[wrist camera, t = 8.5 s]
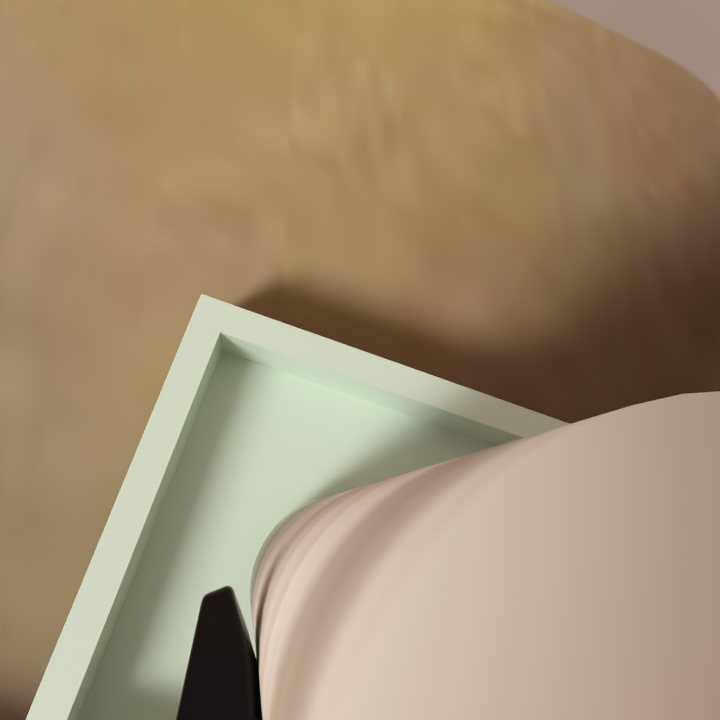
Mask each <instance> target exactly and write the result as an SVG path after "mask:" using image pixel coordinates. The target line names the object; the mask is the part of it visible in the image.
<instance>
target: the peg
mask: <svg viewBox="0 0 720 720" xmlns="http://www.w3.org/2000/svg"><path fill="white" fill-rule="evenodd" d="M250 601H251V612H252V622H253V631H254V641H255V651H256V660H257V668H258V677H259V689H260V699H261V708H262V718H263V720H720V391H717V392H703V393H689V394H680V395H676V396H671V397H667V398H663V399H658V400H654V401H649V402H645V403H640V404H636V405H632V406H628V407H625V408H622V409H618V410H615V411H612V412H608V413H605V414H602V415H598V416H595V417H592V418H588V419H585V420H582V421H578V422H575V423H572V424H568V425H565V426H562V427H558V428H555V429H552V430H548V431H545V432H542V433H538V434H535V435H532V436H528V437H525V438H522V439H518V440H515V441H512V442H508V443H505V444H502V445H498V446H495V447H492V448H488V449H485V450H482V451H478V452H475V453H472V454H468V455H465V456H462V457H458V458H455V459H452V460H448V461H445V462H442V463H438V464H435V465H432V466H428V467H425V468H422V469H418V470H415V471H412V472H408V473H405V474H402V475H398V476H395V477H392V478H388V479H385V480H382V481H378V482H375V483H372V484H368V485H365V486H362V487H358V488H355V489H352V490H348V491H345V492H342V493H338V494H335V495H332V496H328V497H325V498H322V499H318V500H315V501H312V502H310V503H307V504H305V505H303V506H301V507H299V508H297V509H295V510H294V511H292V512H291V513H290V514H288V515H287V516H286V517H284V518H283V519H282V520H281V521H280V522H279V523H278V524H277V525H276V526H275V527H274V529H273V530H272V531H271V532H270V533H269V535H268V536H267V538H266V540H265V541H264V543H263V544H262V546H261V549H260V551H259V553H258V555H257V558H256V561H255V564H254V567H253V571H252V576H251V585H250Z"/></svg>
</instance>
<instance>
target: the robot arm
mask: <svg viewBox="0 0 720 720" xmlns="http://www.w3.org/2000/svg"><path fill="white" fill-rule="evenodd" d="M176 720H263V718H262V708H261V699H260V689H259V677H258V668H257V660H256V657H255V653H254V650H253V646H252V643H251V639H250V636H249V633H248V629H247V626H246V623H245V620H244V617H243V615H242V612H241V609H240V606H239V603H238V601H237V598H236V595H235V592H234V590H233V588H232V587H231V586H224V587H222V588H219V589H217V590H214V591H212V592H209V593H207V594H205V595H204V597H203V599H202V602H201V606H200V611H199V615H198V620H197V624H196V629H195V633H194V638H193V643H192V647H191V652H190V656H189V661H188V666H187V670H186V675H185V679H184V684H183V688H182V693H181V698H180V702H179V707H178V711H177V716H176Z"/></svg>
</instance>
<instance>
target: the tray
mask: <svg viewBox="0 0 720 720" xmlns="http://www.w3.org/2000/svg"><path fill="white" fill-rule="evenodd" d="M568 424H569V423H566V422H563V421H561V420H558V419H555V418H552V417H549V416H546V415H544V414H541V413H538V412H535V411H532V410H529V409H526V408H524V407H521V406H518V405H515V404H512V403H509V402H507V401H504V400H501V399H498V398H495V397H492V396H490V395H487V394H484V393H481V392H478V391H475V390H473V389H470V388H467V387H464V386H461V385H458V384H456V383H453V382H450V381H447V380H444V379H441V378H439V377H436V376H433V375H430V374H427V373H424V372H422V371H419V370H416V369H413V368H410V367H407V366H404V365H402V364H399V363H396V362H393V361H390V360H387V359H385V358H382V357H379V356H376V355H373V354H370V353H368V352H365V351H362V350H359V349H356V348H353V347H351V346H348V345H345V344H342V343H339V342H336V341H334V340H331V339H328V338H325V337H322V336H319V335H317V334H314V333H311V332H308V331H305V330H302V329H299V328H297V327H294V326H291V325H288V324H285V323H282V322H280V321H277V320H274V319H271V318H268V317H265V316H263V315H260V314H257V313H254V312H251V311H248V310H246V309H243V308H240V307H237V306H234V305H231V304H229V303H226V302H223V301H220V300H217V299H214V298H212V297H209V296H206V295H203V294H201V296H200V298H199V301H198V303H197V305H196V308H195V310H194V313H193V315H192V318H191V320H190V322H189V325H188V327H187V330H186V332H185V335H184V337H183V339H182V342H181V344H180V347H179V349H178V351H177V354H176V356H175V359H174V361H173V364H172V366H171V368H170V371H169V373H168V376H167V378H166V381H165V383H164V385H163V388H162V390H161V393H160V395H159V398H158V400H157V402H156V405H155V407H154V410H153V412H152V414H151V417H150V419H149V422H148V424H147V427H146V429H145V431H144V434H143V436H142V439H141V441H140V444H139V446H138V448H137V451H136V453H135V456H134V458H133V461H132V463H131V465H130V468H129V470H128V473H127V475H126V477H125V480H124V482H123V485H122V487H121V490H120V492H119V494H118V497H117V499H116V502H115V504H114V507H113V509H112V511H111V514H110V516H109V519H108V521H107V524H106V526H105V528H104V531H103V533H102V536H101V538H100V541H99V543H98V545H97V548H96V550H95V553H94V555H93V557H92V560H91V562H90V565H89V567H88V570H87V572H86V574H85V577H84V579H83V582H82V584H81V587H80V589H79V591H78V594H77V596H76V599H75V601H74V604H73V606H72V608H71V611H70V613H69V616H68V618H67V620H66V623H65V625H64V628H63V630H62V633H61V635H60V637H59V640H58V642H57V645H56V647H55V650H54V652H53V654H52V657H51V659H50V662H49V664H48V667H47V669H46V671H45V674H44V676H43V679H42V681H41V683H40V686H39V688H38V691H37V693H36V696H35V698H34V700H33V703H32V705H31V708H30V710H29V713H28V715H27V717H26V720H176V716H177V711H178V707H179V702H180V698H181V693H182V688H183V684H184V679H185V675H186V670H187V666H188V661H189V656H190V652H191V647H192V643H193V638H194V633H195V629H196V624H197V620H198V615H199V611H200V606H201V602H202V599H203V597H204V595H205V594H207V593H209V592H212V591H214V590H217V589H219V588H222V587H224V586H231V587H232V588H233V590H234V592H235V595H236V598H237V601H238V603H239V606H240V609H241V612H242V615H243V617H244V620H245V623H246V626H247V629H248V633H249V636H250V639H251V643H252V646H253V650H254V653H255V657H256V651H255V641H254V631H253V622H252V612H251V601H250V585H251V576H252V571H253V567H254V564H255V561H256V558H257V555H258V553H259V551H260V549H261V546H262V544H263V543H264V541H265V540H266V538H267V536H268V535H269V533H270V532H271V531H272V530H273V529H274V527H275V526H276V525H277V524H278V523H279V522H280V521H281V520H282V519H283V518H284V517H286V516H287V515H288V514H290V513H291V512H292V511H294V510H295V509H297V508H299V507H301V506H303V505H305V504H307V503H310V502H312V501H315V500H318V499H322V498H325V497H328V496H332V495H335V494H338V493H342V492H345V491H348V490H352V489H355V488H358V487H362V486H365V485H368V484H372V483H375V482H378V481H382V480H385V479H388V478H392V477H395V476H398V475H402V474H405V473H408V472H412V471H415V470H418V469H422V468H425V467H428V466H432V465H435V464H438V463H442V462H445V461H448V460H452V459H455V458H458V457H462V456H465V455H468V454H472V453H475V452H478V451H482V450H485V449H488V448H492V447H495V446H498V445H502V444H505V443H508V442H512V441H515V440H518V439H522V438H525V437H528V436H532V435H535V434H538V433H542V432H545V431H548V430H552V429H555V428H558V427H562V426H565V425H568Z"/></svg>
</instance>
